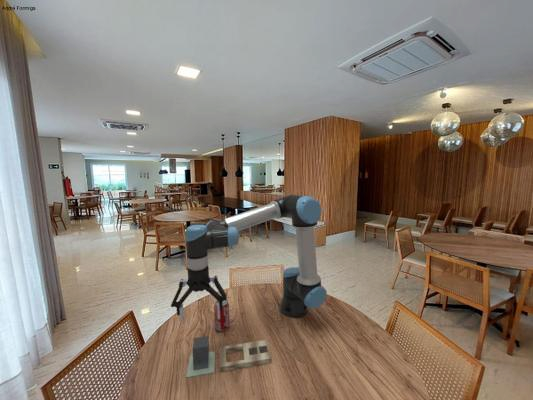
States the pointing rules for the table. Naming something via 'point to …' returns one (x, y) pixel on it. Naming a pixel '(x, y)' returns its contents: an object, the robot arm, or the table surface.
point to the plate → (245, 355)
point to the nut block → (201, 353)
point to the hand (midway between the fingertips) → (200, 319)
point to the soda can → (222, 316)
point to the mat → (202, 371)
